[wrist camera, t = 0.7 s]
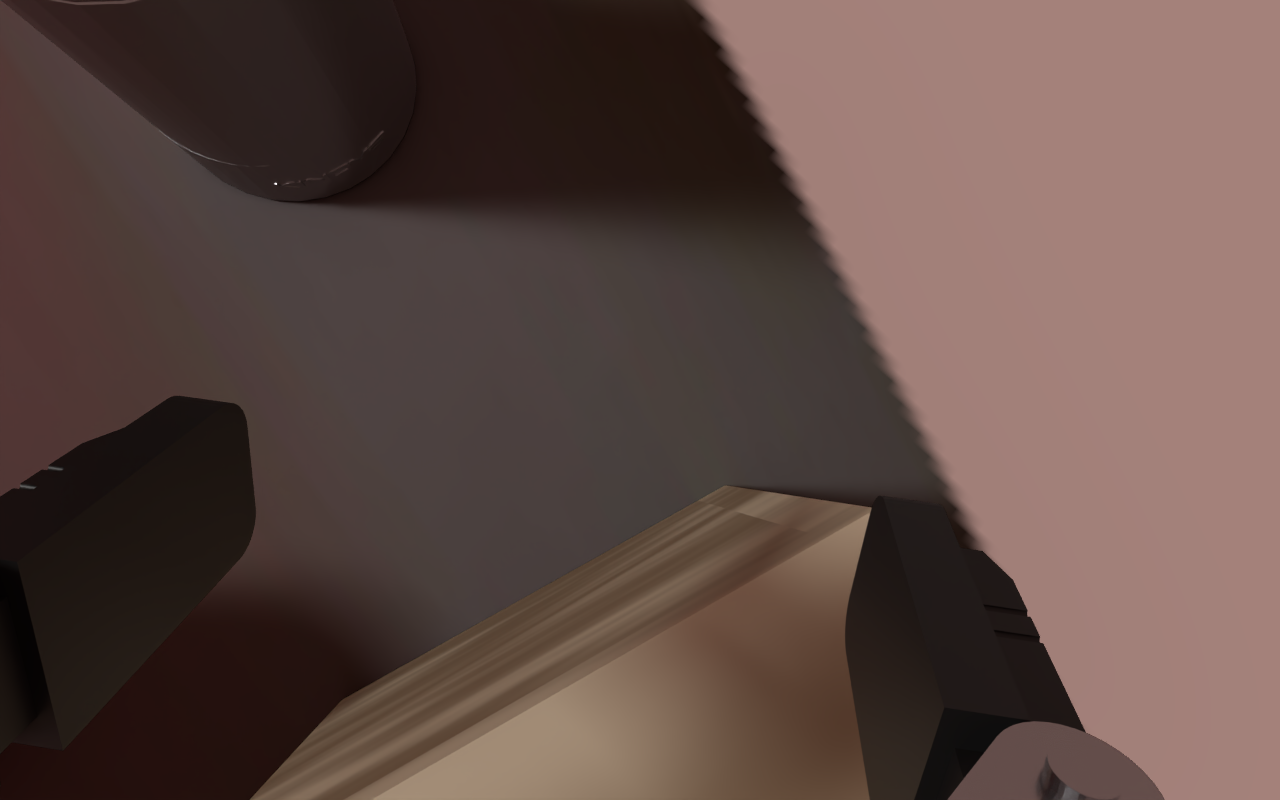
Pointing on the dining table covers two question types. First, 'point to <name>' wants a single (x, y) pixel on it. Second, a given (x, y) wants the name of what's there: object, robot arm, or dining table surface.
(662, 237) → the dining table surface
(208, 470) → the robot arm
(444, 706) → the hutch
